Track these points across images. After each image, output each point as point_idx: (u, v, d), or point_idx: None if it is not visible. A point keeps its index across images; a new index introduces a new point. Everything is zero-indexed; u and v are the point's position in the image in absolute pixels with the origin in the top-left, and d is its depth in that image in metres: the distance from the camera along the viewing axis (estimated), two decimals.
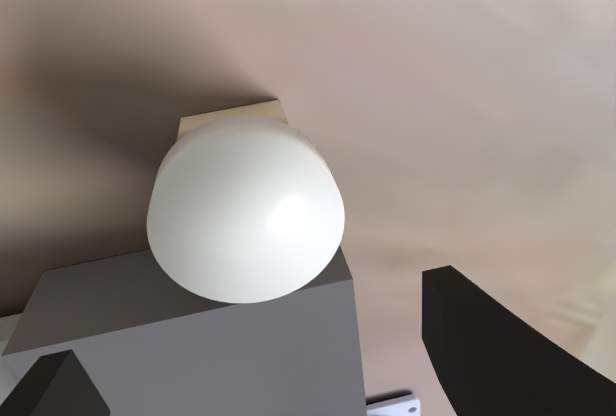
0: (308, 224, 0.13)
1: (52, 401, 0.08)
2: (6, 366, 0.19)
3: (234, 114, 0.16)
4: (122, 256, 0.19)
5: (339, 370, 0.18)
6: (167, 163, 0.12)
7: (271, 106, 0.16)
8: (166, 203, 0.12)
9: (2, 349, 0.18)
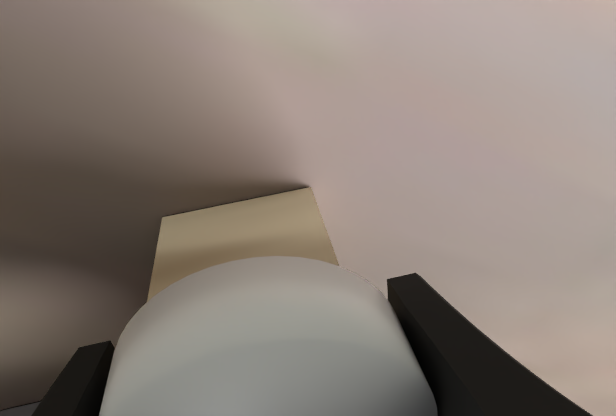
0: None
1: (95, 392, 0.08)
2: None
3: (244, 216, 0.10)
4: None
5: None
6: (126, 359, 0.07)
7: (300, 203, 0.10)
8: None
9: None
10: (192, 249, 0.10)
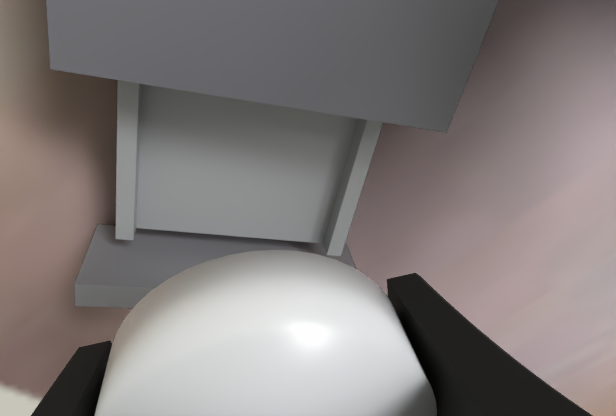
0: None
1: (95, 392, 0.08)
2: (187, 136, 0.16)
3: None
4: None
5: None
6: (123, 354, 0.07)
7: None
8: None
9: (132, 110, 0.14)
10: None
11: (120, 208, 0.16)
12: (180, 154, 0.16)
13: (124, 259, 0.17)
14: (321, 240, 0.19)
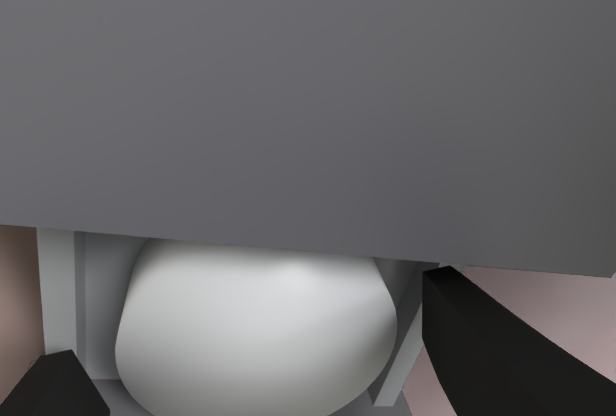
0: (346, 341, 0.09)
1: (52, 401, 0.08)
2: None
3: None
4: None
5: None
6: (144, 266, 0.09)
7: None
8: (142, 327, 0.08)
9: (63, 231, 0.08)
10: None
11: None
12: None
13: None
14: None
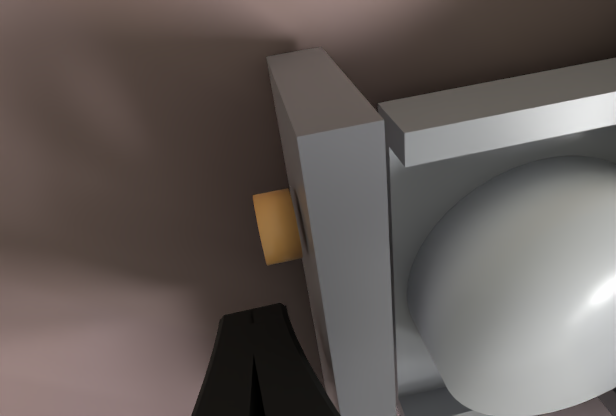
0: (582, 375, 0.10)
1: (257, 354, 0.08)
2: None
3: None
4: None
5: None
6: None
7: None
8: None
9: None
10: None
11: (484, 125, 0.07)
12: None
13: None
14: (403, 394, 0.12)
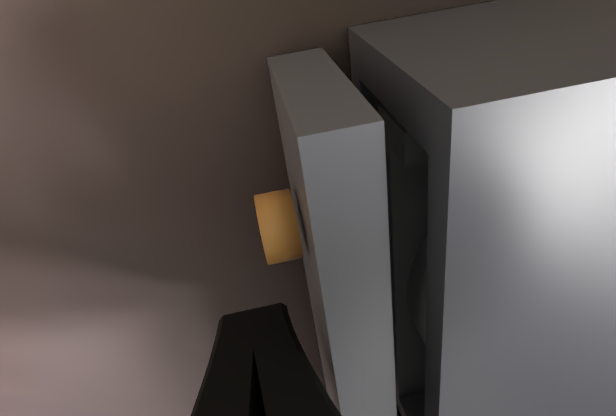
0: None
1: (256, 355, 0.08)
2: None
3: None
4: None
5: None
6: None
7: None
8: None
9: None
10: None
11: None
12: None
13: None
14: (403, 394, 0.12)
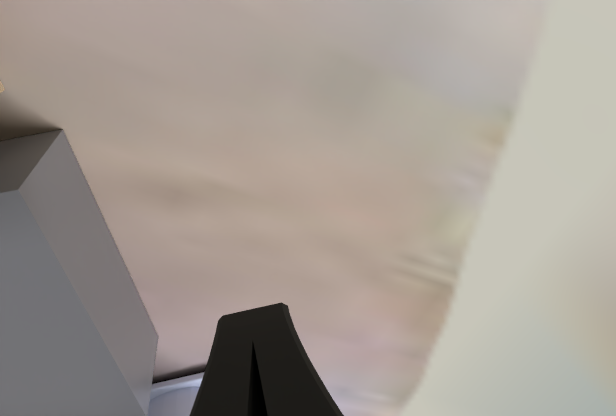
0: None
1: (255, 355, 0.08)
2: None
3: None
4: None
5: (57, 315, 0.15)
6: None
7: None
8: None
9: None
10: None
11: None
12: None
13: None
14: None
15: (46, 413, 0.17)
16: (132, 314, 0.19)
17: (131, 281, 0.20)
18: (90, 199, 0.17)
